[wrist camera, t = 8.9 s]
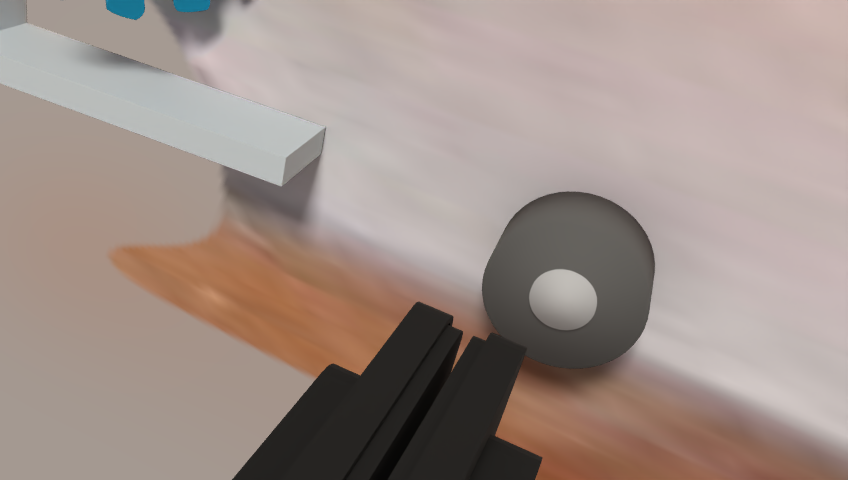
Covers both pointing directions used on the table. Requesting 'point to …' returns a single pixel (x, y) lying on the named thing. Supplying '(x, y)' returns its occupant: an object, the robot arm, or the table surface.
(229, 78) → the table surface
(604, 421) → the table surface
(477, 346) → the robot arm
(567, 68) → the table surface
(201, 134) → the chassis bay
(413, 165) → the table surface
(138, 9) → the gear
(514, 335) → the wheel
